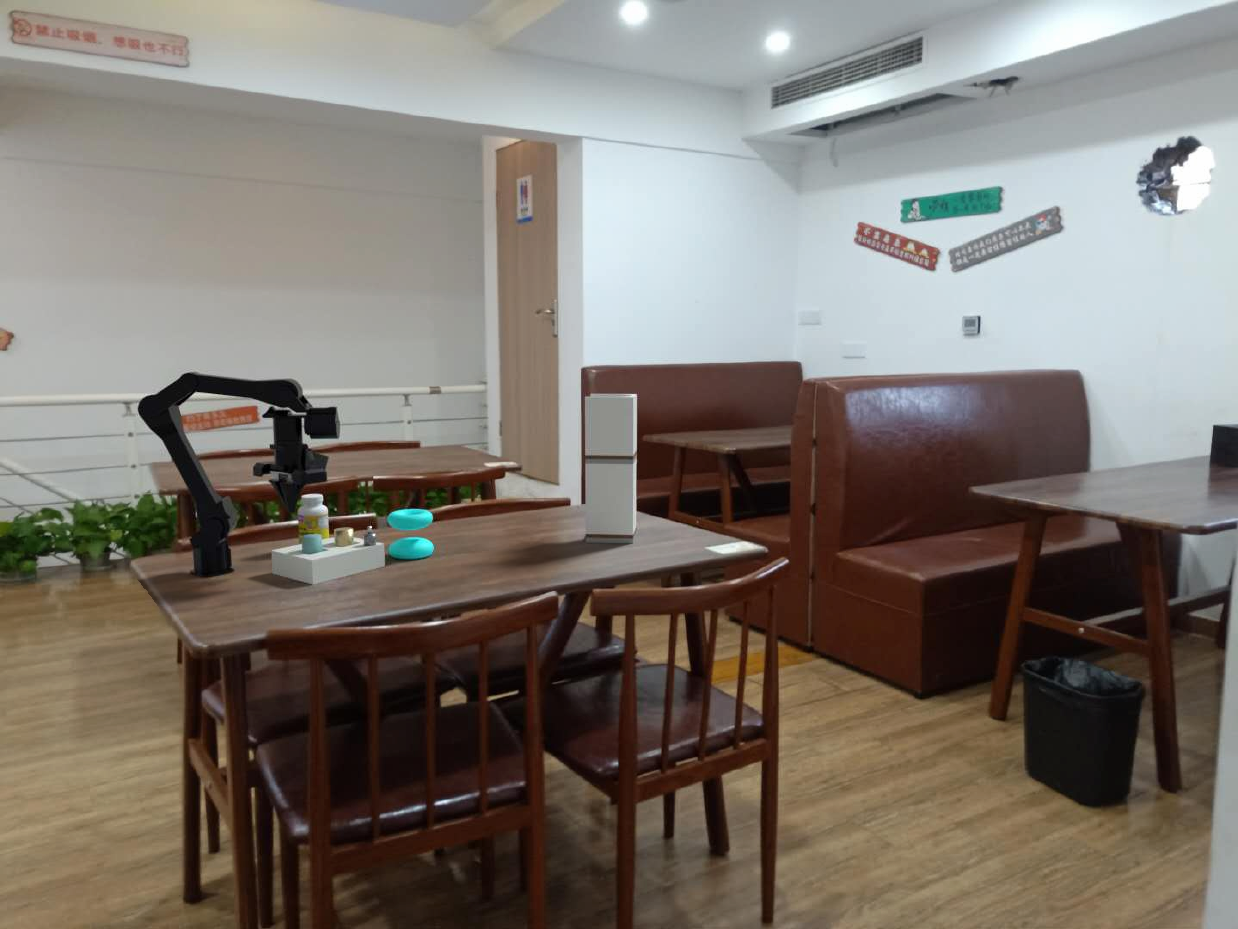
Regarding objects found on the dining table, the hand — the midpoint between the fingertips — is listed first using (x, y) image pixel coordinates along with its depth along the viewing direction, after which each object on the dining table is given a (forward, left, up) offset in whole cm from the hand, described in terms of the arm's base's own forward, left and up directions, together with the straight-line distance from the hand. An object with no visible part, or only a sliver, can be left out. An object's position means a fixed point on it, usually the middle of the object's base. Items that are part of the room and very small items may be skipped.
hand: (291, 512), depth 192 cm
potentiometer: (+11, -12, -7) cm, 18 cm away
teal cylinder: (0, -7, -11) cm, 13 cm away
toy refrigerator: (+64, -37, -13) cm, 75 cm away
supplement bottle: (+13, +11, -13) cm, 22 cm away
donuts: (+23, -11, -13) cm, 28 cm away
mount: (+4, -7, -12) cm, 15 cm away
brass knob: (+8, -7, -11) cm, 15 cm away
